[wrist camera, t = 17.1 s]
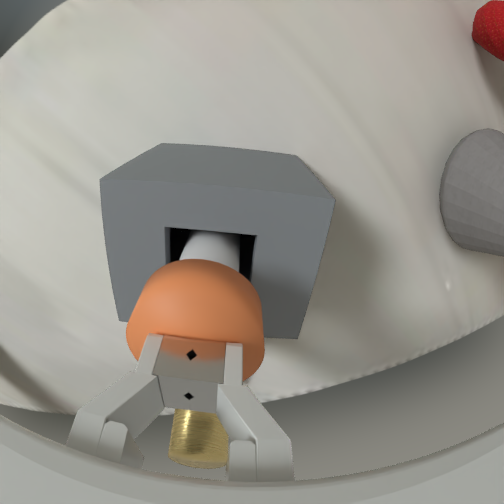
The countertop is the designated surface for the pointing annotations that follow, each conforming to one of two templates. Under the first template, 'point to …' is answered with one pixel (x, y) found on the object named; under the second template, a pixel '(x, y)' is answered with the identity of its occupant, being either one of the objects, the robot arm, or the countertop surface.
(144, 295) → the button
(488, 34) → the strawberry
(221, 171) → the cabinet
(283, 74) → the countertop surface
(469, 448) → the robot arm
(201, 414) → the carriage
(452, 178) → the coffee pot
